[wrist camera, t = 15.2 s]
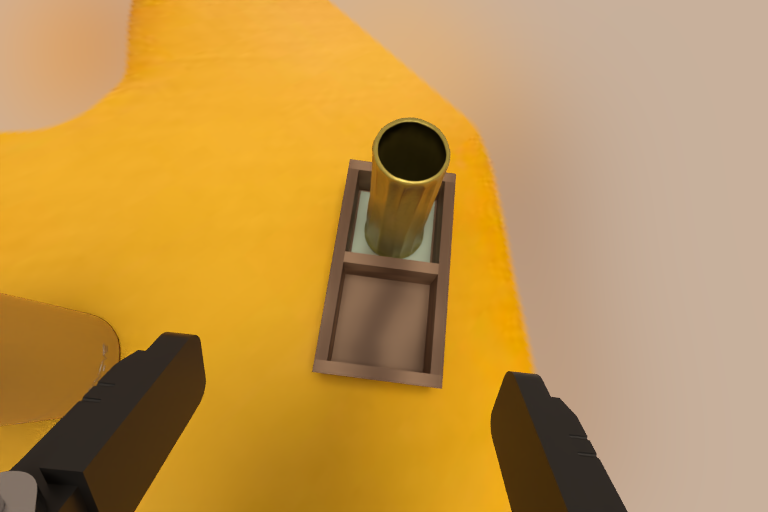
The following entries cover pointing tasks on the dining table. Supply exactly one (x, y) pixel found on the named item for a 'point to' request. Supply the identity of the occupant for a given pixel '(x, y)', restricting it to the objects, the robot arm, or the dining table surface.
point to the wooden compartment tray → (386, 295)
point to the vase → (404, 185)
